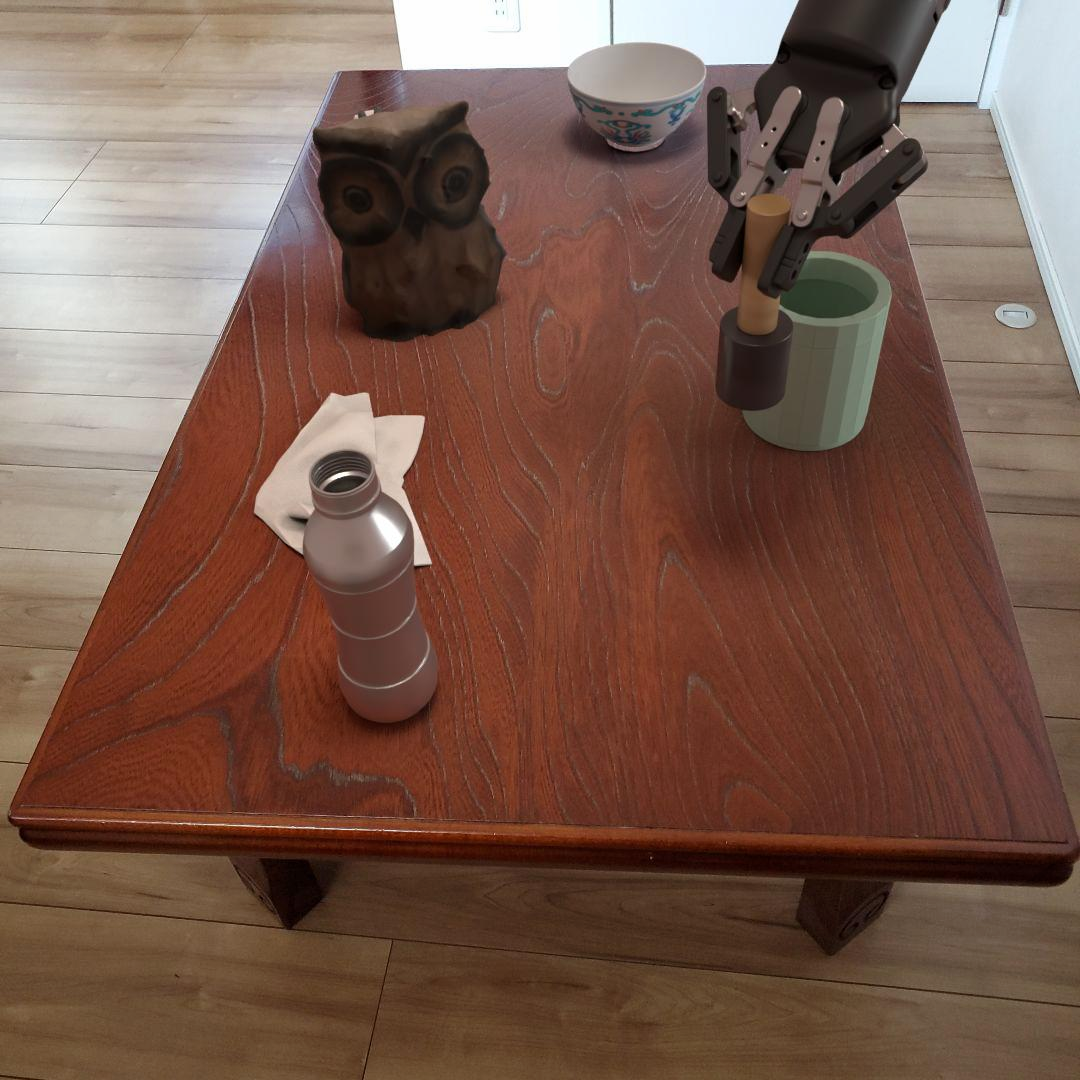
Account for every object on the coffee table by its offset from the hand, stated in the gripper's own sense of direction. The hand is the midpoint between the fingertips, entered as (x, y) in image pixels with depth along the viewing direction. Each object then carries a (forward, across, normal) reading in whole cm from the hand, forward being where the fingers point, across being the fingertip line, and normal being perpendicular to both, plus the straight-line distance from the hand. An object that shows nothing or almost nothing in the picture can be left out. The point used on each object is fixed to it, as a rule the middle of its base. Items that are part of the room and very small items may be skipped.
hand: (744, 284), depth 64 cm
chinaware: (-20, -42, +51) cm, 69 cm away
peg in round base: (+5, 0, +8) cm, 9 cm away
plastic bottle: (+33, -11, +1) cm, 35 cm away
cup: (+3, -4, +30) cm, 31 cm away
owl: (+8, -40, +26) cm, 49 cm away
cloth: (+24, -28, +9) cm, 38 cm away
